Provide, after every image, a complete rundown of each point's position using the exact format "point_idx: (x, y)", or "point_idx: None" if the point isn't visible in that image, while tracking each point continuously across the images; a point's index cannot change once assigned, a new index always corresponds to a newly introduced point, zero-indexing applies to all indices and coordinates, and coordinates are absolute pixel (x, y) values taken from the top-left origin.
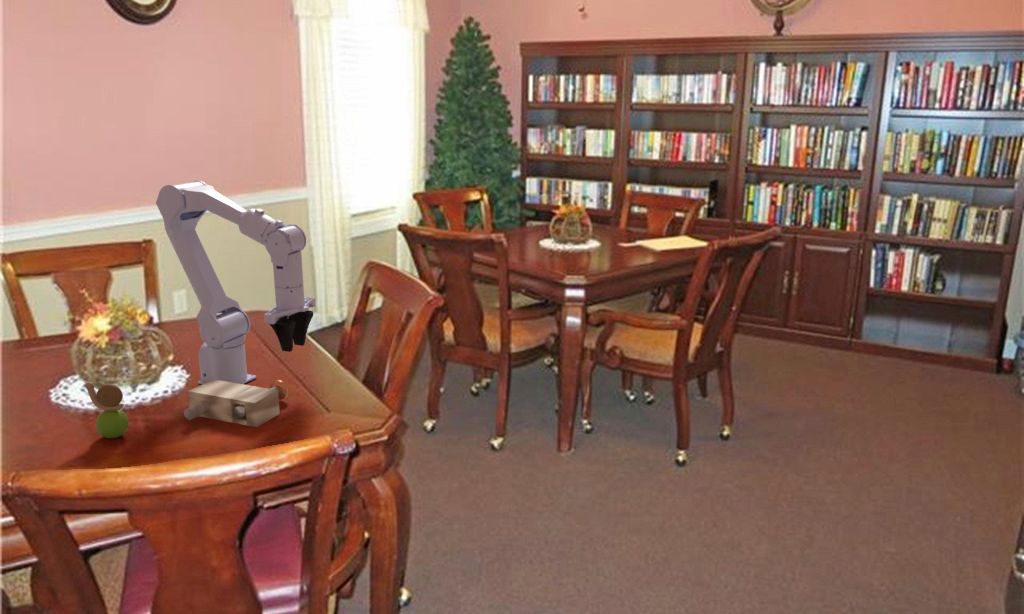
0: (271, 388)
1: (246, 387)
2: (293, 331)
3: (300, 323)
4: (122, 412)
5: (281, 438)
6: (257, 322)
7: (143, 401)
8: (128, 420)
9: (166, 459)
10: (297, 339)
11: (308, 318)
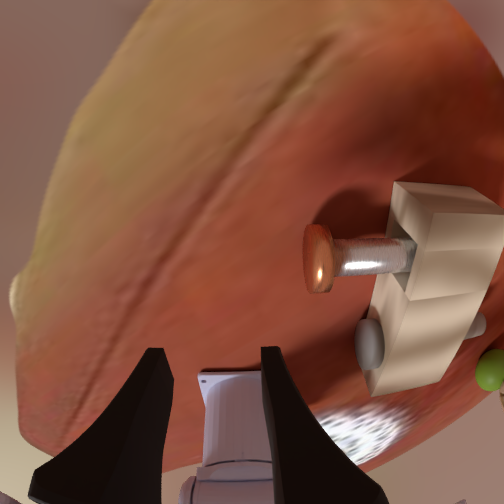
0: (359, 268)
1: (420, 311)
2: (279, 446)
3: (137, 469)
4: (499, 375)
5: (500, 98)
6: (46, 440)
7: (370, 416)
8: (492, 363)
9: None
10: (164, 392)
11: (88, 480)
